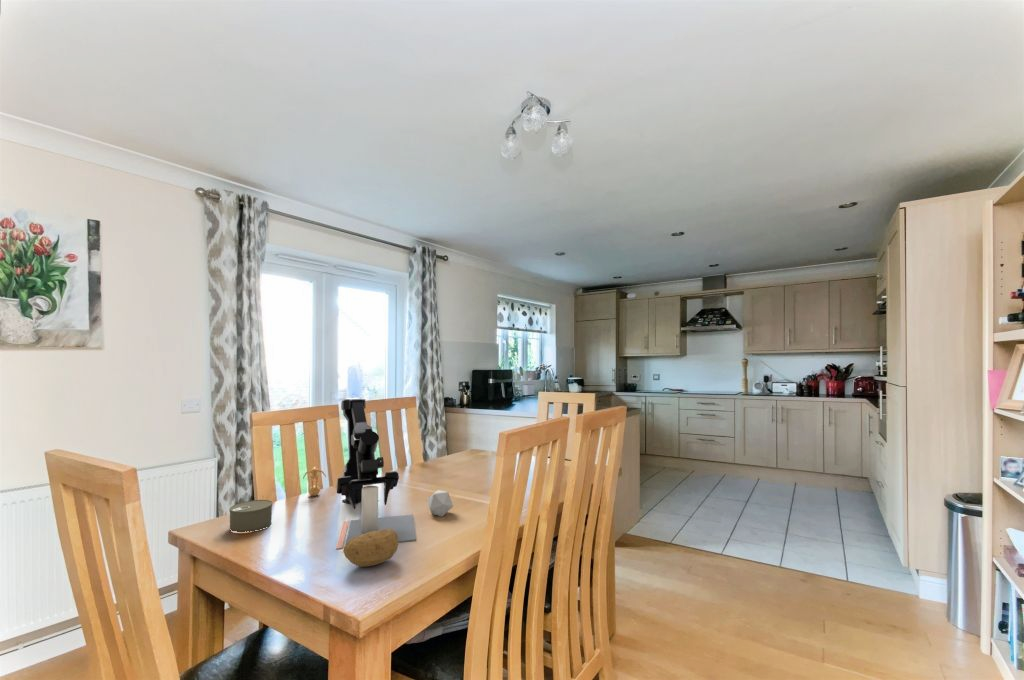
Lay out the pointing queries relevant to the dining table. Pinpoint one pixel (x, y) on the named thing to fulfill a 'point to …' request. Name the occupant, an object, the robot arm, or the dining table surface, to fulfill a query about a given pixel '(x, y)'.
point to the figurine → (313, 489)
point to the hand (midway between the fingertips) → (370, 506)
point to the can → (250, 515)
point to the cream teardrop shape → (369, 509)
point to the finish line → (342, 535)
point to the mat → (388, 527)
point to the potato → (371, 548)
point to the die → (440, 503)
